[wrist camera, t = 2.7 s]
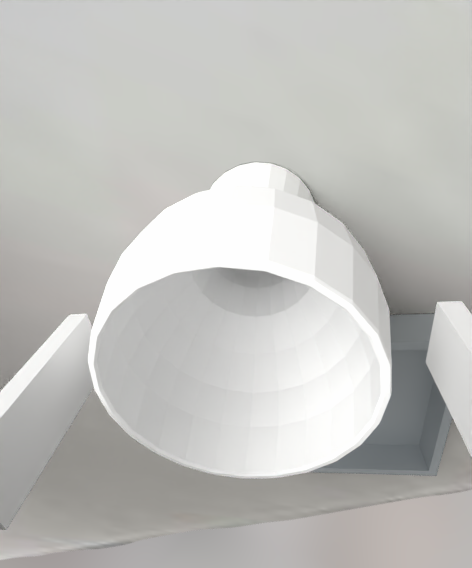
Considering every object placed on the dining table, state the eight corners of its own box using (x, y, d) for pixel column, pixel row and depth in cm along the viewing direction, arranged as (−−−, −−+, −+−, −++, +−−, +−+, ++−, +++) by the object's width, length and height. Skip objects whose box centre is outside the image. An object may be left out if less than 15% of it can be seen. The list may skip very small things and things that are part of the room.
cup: (168, 143, 22) (12, 244, 9) (344, 130, 20) (453, 229, 8) (193, 288, 27) (117, 480, 14) (334, 286, 26) (387, 496, 13)
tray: (263, 441, 36) (261, 470, 33) (246, 320, 28) (243, 346, 26) (424, 444, 34) (436, 475, 31) (454, 312, 26) (473, 340, 23)
